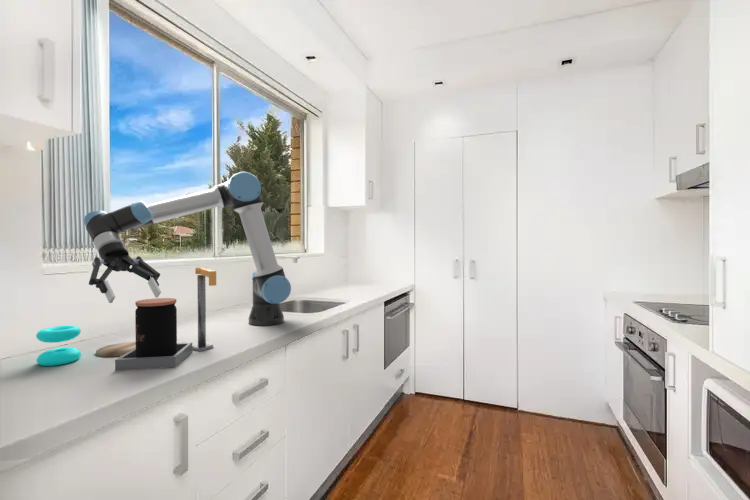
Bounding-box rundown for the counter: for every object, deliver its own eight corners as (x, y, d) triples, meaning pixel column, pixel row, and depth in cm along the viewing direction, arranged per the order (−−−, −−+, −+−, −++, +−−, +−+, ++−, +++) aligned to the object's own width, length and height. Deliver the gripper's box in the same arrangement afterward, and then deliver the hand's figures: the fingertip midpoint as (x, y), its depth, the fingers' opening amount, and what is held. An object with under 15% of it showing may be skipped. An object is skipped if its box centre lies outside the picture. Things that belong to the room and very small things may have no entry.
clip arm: (194, 280, 125) (194, 267, 125) (206, 279, 127) (206, 267, 127) (206, 285, 107) (206, 271, 107) (219, 285, 109) (219, 270, 109)
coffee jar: (139, 357, 114) (138, 299, 114) (178, 353, 119) (178, 297, 118) (132, 368, 105) (131, 304, 104) (175, 363, 109) (174, 301, 109)
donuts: (75, 330, 108) (30, 333, 104) (75, 364, 108) (30, 369, 104) (84, 323, 117) (43, 326, 113) (84, 355, 117) (44, 359, 113)
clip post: (203, 345, 128) (203, 274, 128) (213, 347, 126) (212, 274, 125) (190, 349, 124) (189, 275, 123) (199, 351, 121) (199, 275, 121)
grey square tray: (192, 352, 121) (192, 342, 121) (175, 367, 105) (175, 356, 105) (140, 354, 118) (139, 345, 118) (115, 370, 103) (115, 359, 103)
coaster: (158, 343, 132) (158, 340, 132) (139, 355, 117) (139, 353, 117) (110, 345, 129) (110, 342, 129) (85, 358, 114) (85, 355, 114)
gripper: (146, 255, 136) (170, 300, 129) (61, 257, 114) (85, 311, 107) (154, 241, 133) (179, 285, 126) (69, 240, 112) (94, 293, 104)
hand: (136, 297), depth 116 cm, fingers open, 13 cm apart
